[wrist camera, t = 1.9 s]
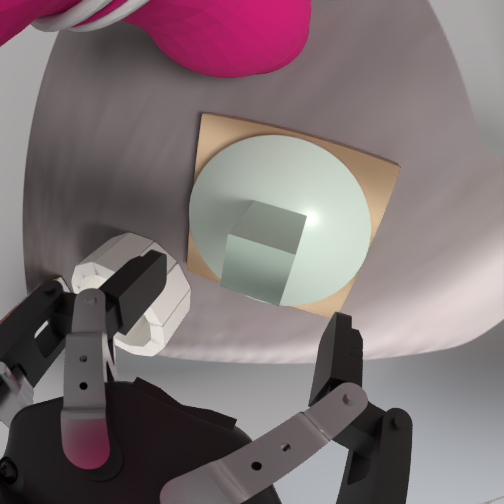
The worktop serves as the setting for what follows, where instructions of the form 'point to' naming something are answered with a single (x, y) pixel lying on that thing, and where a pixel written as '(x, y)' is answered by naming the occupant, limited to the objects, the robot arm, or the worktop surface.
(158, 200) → the worktop surface
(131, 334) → the bowl
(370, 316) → the worktop surface
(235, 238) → the lid
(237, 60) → the pepper mill
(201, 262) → the plate
